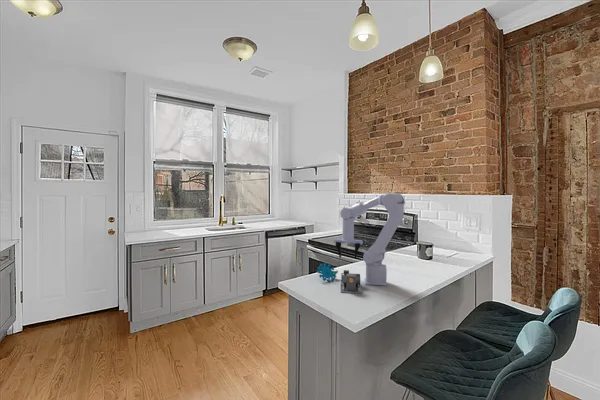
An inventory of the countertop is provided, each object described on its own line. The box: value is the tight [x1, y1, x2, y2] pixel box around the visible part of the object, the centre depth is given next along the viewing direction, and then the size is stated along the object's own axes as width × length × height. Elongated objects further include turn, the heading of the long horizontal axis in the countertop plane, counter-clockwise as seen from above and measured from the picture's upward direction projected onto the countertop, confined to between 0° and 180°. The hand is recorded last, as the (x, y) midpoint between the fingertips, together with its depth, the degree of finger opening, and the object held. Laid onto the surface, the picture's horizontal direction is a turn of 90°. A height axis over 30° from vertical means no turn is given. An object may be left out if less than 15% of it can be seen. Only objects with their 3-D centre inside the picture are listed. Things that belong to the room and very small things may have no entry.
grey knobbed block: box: [346, 273, 357, 290], centre depth 125 cm, size 4×5×6 cm
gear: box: [316, 262, 339, 283], centre depth 142 cm, size 11×6×10 cm
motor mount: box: [340, 269, 363, 295], centre depth 128 cm, size 9×12×7 cm
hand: (347, 257), depth 147 cm, fingers open, 7 cm apart
